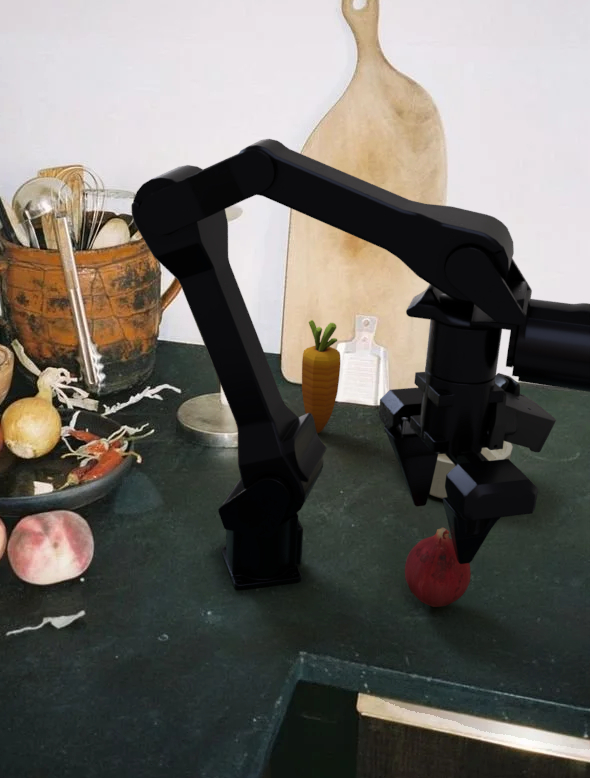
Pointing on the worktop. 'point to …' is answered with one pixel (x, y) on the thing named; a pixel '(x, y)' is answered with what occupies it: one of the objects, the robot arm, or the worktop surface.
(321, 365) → the carrot
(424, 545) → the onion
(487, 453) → the bowl
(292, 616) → the worktop surface
